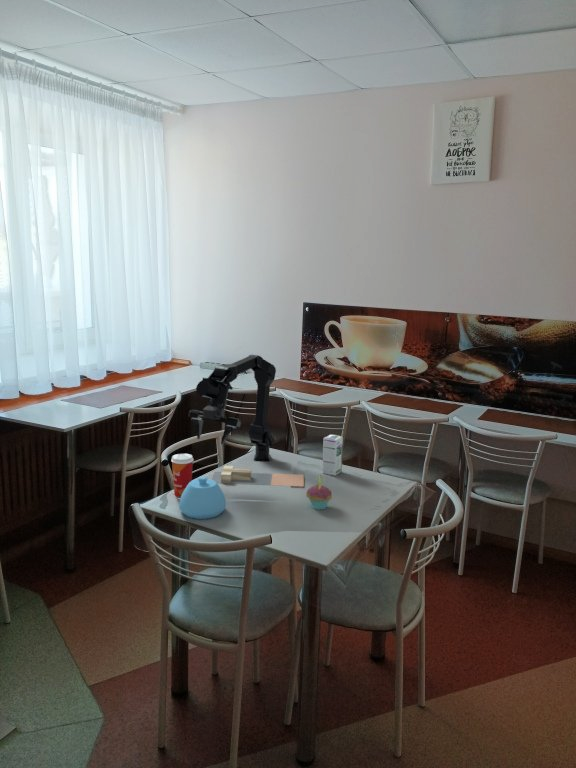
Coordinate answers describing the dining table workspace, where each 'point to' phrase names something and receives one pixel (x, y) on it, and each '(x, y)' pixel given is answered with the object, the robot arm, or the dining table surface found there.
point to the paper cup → (181, 472)
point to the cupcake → (319, 496)
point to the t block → (234, 474)
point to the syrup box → (332, 454)
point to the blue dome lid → (202, 499)
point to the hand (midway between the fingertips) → (210, 441)
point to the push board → (266, 479)
